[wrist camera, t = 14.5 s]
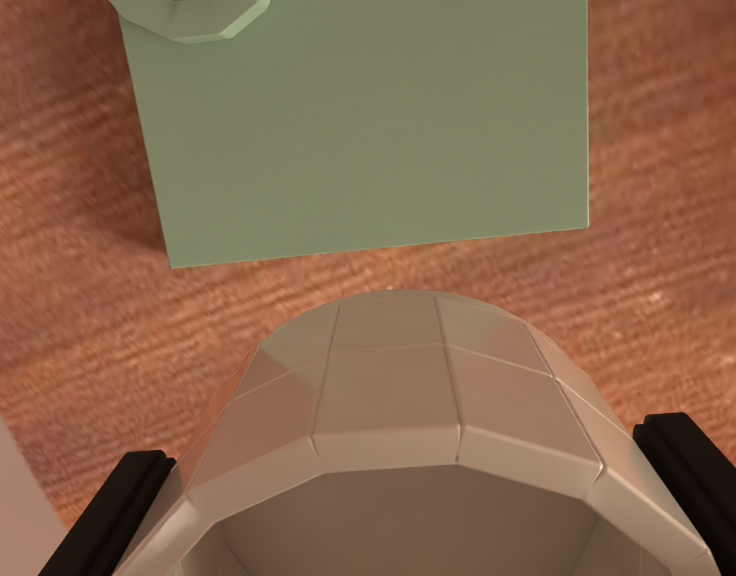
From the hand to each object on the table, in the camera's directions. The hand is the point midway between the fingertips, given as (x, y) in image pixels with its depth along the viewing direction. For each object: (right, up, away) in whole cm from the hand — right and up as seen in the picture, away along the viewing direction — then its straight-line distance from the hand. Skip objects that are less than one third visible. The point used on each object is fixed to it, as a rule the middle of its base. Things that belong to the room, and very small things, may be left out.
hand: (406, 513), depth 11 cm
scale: (-1, +12, +13) cm, 18 cm away
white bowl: (0, 0, +1) cm, 1 cm away
